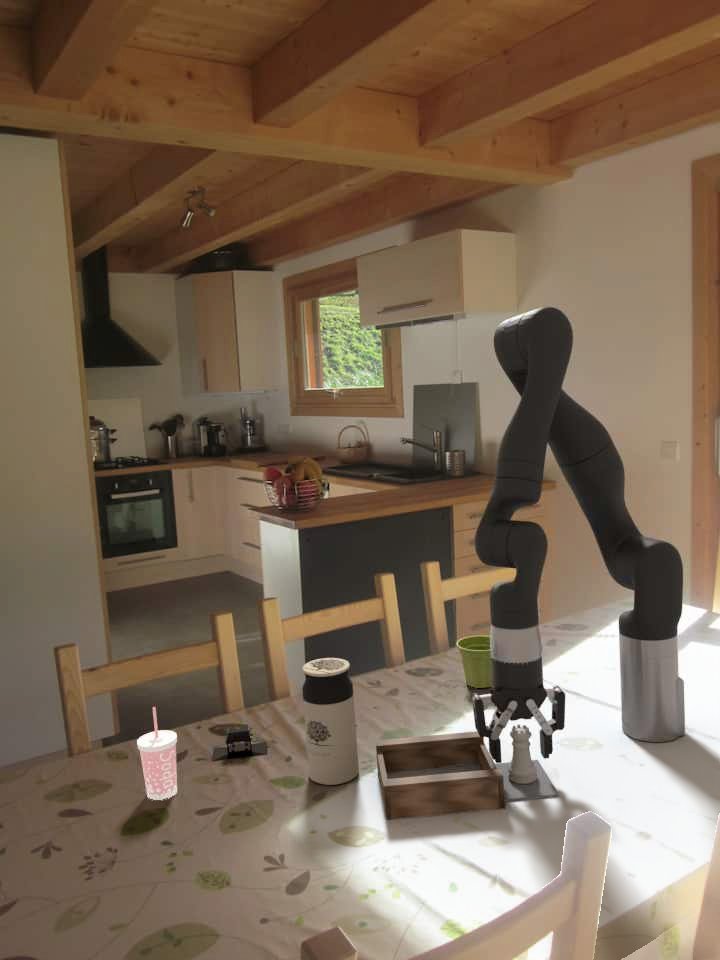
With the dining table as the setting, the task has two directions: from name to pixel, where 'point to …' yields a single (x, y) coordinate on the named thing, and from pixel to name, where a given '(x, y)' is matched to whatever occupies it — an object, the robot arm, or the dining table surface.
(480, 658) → the plant pot
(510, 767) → the rook chess piece
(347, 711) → the travel mug
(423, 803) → the brown wooden box
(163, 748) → the beverage cup
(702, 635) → the dining table surface
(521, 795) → the charcoal mat
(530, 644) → the robot arm
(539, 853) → the dining table surface
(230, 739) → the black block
